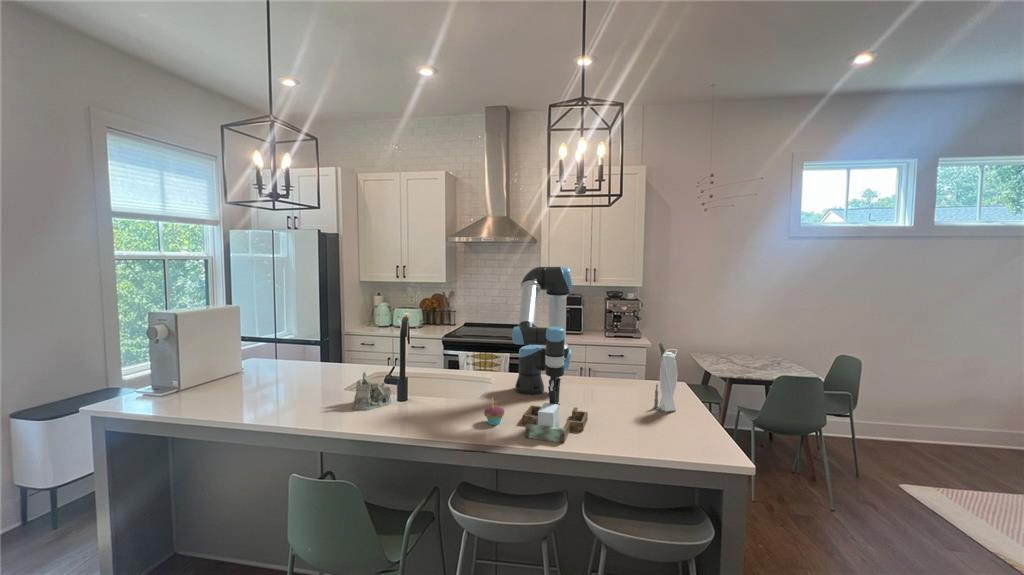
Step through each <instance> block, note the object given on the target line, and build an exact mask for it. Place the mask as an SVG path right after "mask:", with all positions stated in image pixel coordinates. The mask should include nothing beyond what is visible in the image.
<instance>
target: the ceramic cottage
mask: <svg viewBox="0 0 1024 575" xmlns="http://www.w3.org/2000/svg"><path fill="white" fill-rule="evenodd" d="M355 389H356V391H355V394H354V400H353V402H352V406H351V409H352V410H353V411H356V412H357V411H358V412H364V411H371V410H376V409H379V408H382V407H383V408H384V407H387V406H389V405H390V404H391V403H392V398H391V395H392V394H391V393H392V389H391V387H388V386H386V385H385V382H384V381H381V382H379V383H378V382H377V383H373V381H372V380H371V378H370V377H369V376H368V375H367V373H366V371H363V372H362V379H358V380H357V382H356V386H355Z"/></svg>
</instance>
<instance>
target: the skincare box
mask: <svg viewBox="0 0 1024 575" xmlns="http://www.w3.org/2000/svg"><path fill="white" fill-rule="evenodd" d="M559 404H560V403H558V404H550V402H548V403H547V402H545V403H543V405H542V406H540V407H541V408H540V410H539V411H538V425H541V426H549V427H556V428H560V406H559Z"/></svg>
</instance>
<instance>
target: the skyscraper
mask: <svg viewBox="0 0 1024 575" xmlns="http://www.w3.org/2000/svg"><path fill="white" fill-rule="evenodd" d="M670 351H675V353H673V352H670ZM678 351H679V350H678V349H676V348H668V349H666V350H665V351H664V352H663V354H662V358H661V363H660V368H659V385H658V384H656V385H655V390H654V405H653V407H654V408H653V409H655V408H656V409H655V410H657V409H658V410H657V411H659V410H660V411H662V412H666V413H670V412H669V411H674V412H676V411H677V409H676V406H675V399H674V396H675V395H674V394H675V391H676V388H677V384H678V367H677V360H676V356H677V353H678ZM658 386H660V388H659V387H658ZM658 388H659V389H660V394H661V399H660V401H659V389H658ZM660 411H659V412H660ZM662 412H661V413H662Z"/></svg>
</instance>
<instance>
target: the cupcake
mask: <svg viewBox="0 0 1024 575" xmlns="http://www.w3.org/2000/svg"><path fill="white" fill-rule="evenodd" d="M494 404H495V402H494V396H491V405H489V406H487V407H486V408H484V411H483V413H484V414H483V415H484V416H485V417H486V419H487V423H488V424H489V425H491V426H497V425H500V423H501V421H502V418H503V417H504V415H505V410H504V408H503V407H501V406H499V405H496V404H495V405H494Z"/></svg>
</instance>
